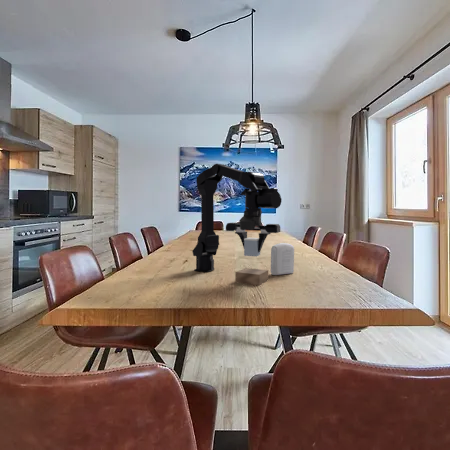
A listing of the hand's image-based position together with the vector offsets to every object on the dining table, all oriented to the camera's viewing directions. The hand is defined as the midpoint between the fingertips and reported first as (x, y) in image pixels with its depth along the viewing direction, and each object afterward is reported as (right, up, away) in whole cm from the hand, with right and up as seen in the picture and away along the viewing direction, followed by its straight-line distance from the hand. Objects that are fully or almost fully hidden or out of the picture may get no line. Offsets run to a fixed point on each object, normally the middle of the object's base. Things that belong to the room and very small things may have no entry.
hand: (252, 251), depth 121 cm
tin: (0, -1, 0) cm, 1 cm away
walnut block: (0, -11, +1) cm, 11 cm away
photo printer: (+13, -10, +15) cm, 22 cm away
